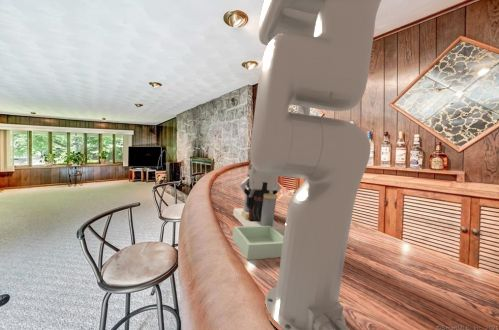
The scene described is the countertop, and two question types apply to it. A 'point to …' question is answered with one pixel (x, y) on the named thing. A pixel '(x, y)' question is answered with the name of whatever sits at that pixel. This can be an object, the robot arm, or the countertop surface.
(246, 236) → the tray
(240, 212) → the fuse block
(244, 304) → the countertop surface
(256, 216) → the deodorant
